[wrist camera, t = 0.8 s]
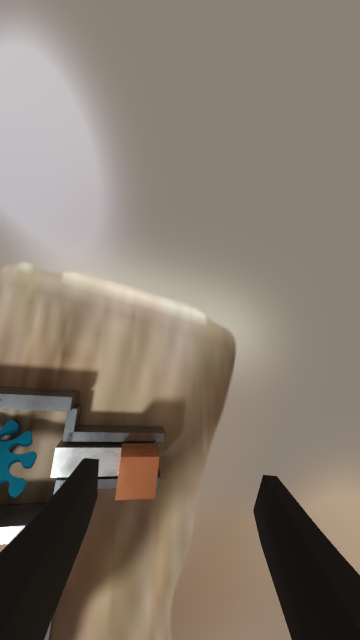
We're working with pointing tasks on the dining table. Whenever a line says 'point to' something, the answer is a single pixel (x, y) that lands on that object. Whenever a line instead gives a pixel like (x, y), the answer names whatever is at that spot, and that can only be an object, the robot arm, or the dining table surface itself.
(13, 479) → the gear
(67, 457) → the orange block
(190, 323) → the dining table surface
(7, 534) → the socket
